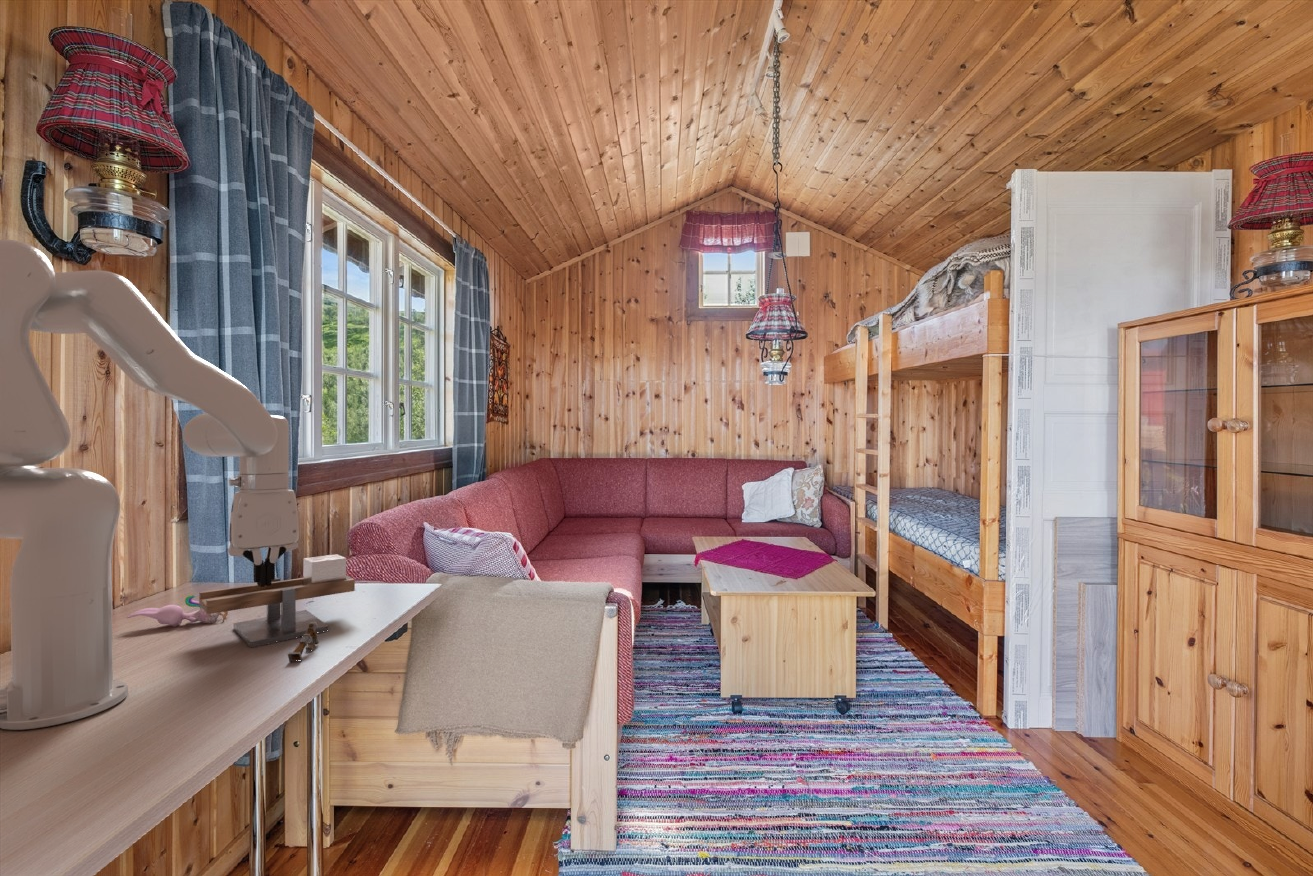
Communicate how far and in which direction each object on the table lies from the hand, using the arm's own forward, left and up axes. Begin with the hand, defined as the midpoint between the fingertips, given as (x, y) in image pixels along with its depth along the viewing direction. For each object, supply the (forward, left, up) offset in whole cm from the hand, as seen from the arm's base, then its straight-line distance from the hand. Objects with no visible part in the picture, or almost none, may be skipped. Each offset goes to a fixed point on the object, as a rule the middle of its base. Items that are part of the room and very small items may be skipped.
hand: (264, 585), depth 109 cm
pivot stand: (+3, 0, -9) cm, 9 cm away
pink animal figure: (-10, +17, -9) cm, 22 cm away
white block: (+10, 0, -2) cm, 10 cm away
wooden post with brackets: (+2, -16, -9) cm, 19 cm away
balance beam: (+3, 0, -3) cm, 4 cm away
